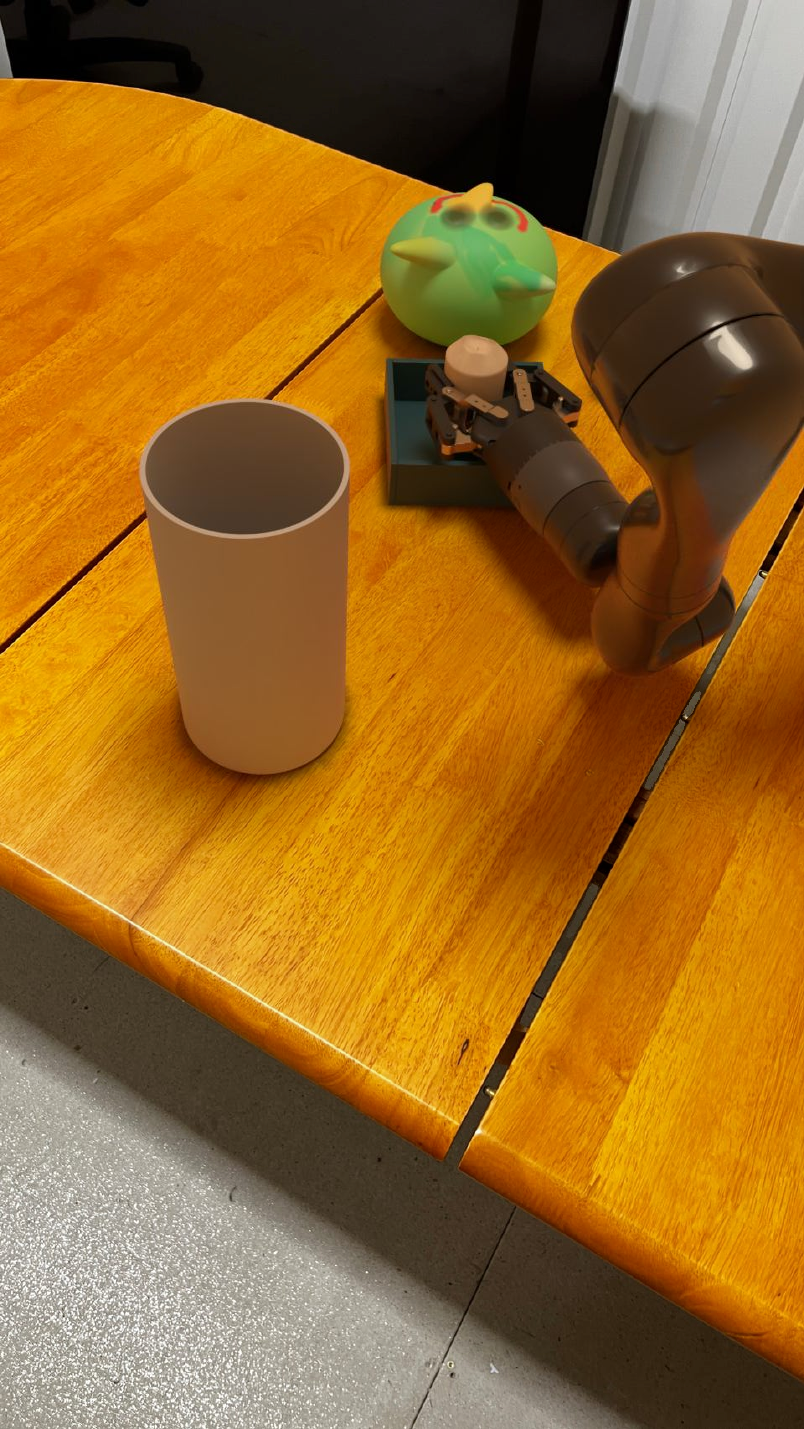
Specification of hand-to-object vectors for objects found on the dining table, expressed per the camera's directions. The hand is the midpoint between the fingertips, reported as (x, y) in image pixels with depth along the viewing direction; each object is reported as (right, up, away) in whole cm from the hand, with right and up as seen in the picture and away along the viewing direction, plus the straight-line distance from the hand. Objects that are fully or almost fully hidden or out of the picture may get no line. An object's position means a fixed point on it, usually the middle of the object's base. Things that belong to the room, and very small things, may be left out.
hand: (461, 365), depth 100 cm
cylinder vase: (-16, -32, -14) cm, 38 cm away
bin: (+1, -7, +5) cm, 9 cm away
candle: (+1, -6, +4) cm, 7 cm away
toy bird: (+1, +8, +17) cm, 19 cm away
